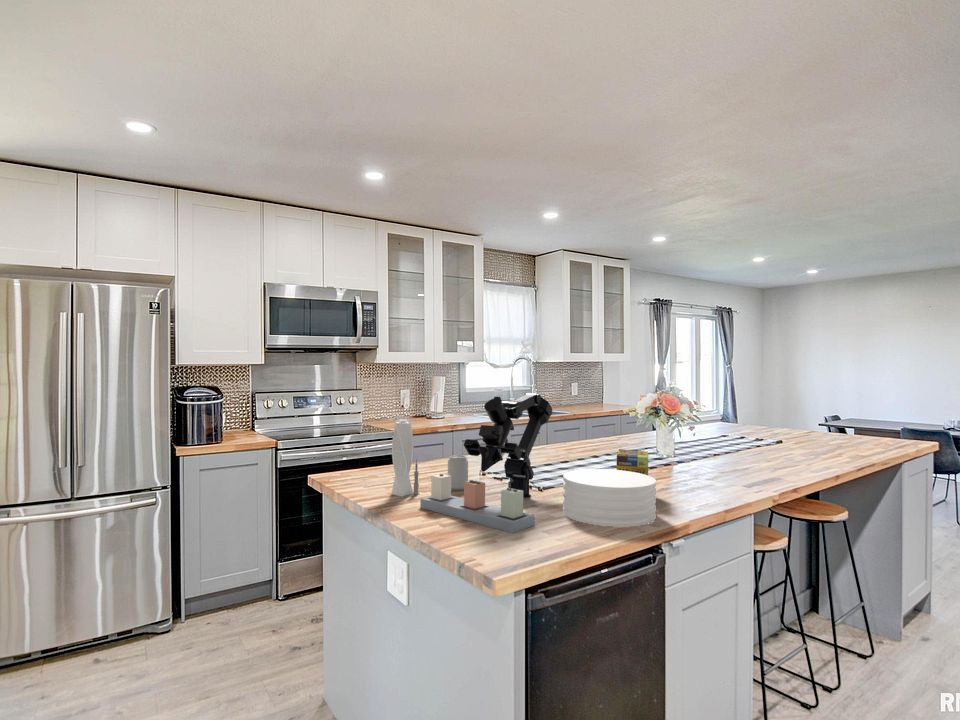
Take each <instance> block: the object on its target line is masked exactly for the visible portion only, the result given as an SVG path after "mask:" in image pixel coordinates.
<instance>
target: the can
mask: <svg viewBox="0 0 960 720" xmlns="http://www.w3.org/2000/svg"><path fill="white" fill-rule="evenodd" d="M447 475H449V476H451V491H464V483H466V482H469V460H468V459H467V455H463V454H462V455H461V454H456V455H450V456H449V458H448V459H447Z"/></svg>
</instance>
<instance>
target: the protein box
mask: <svg viewBox="0 0 960 720" xmlns="http://www.w3.org/2000/svg"><path fill="white" fill-rule="evenodd" d="M615 468H616V469H615V470H623V471H630V472H636V473H641V474H645V475H648V476H649V451H648V450H646V451H645V450H635V449H634V450H633V449H621V448H620V449H618V451H617V454H616V467H615Z"/></svg>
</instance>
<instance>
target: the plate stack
mask: <svg viewBox="0 0 960 720" xmlns="http://www.w3.org/2000/svg"><path fill="white" fill-rule="evenodd" d="M562 477H563V479H562V480H563V484H562V487H563V490H562V497H563V498H562V505H563V507H562V513H563V515H564V516H565V517H567V518H568V519H571V520H573V521H575V520H576V522H578V521H579V523H582V522H583V524H586V523H588V524H587V525H591V524H594V525H593V526H597V525H602V526H601V527H606V526H613V527H612V528H631V527H630V526H637V527H641V526H640V525H644V526H646V525H645V524H648V523H650V524H652V523H651V522H652V521H654V520H655V519H657V514H656V511H657V506H656V502H657V497H656V495H657V488H656V487H657V480H656V479H655V478H654V476H653V477H652V476H651V475H649V474H648V475H645V474H641V473H636V472H630V471H623V470H616V469H611V468H609V469H607V468H586V469H585V468H584V469H576V470H570V471H567V472H565V473H564V474H563V476H562ZM655 521H656V520H655ZM655 521H654V522H655ZM648 525H649V524H648Z"/></svg>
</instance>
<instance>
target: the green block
mask: <svg viewBox="0 0 960 720" xmlns="http://www.w3.org/2000/svg"><path fill="white" fill-rule="evenodd" d="M500 507H501V516H505V517H509V518H516V517H519V516H523V513H524V497H523V491H522V490H517V489H513V488H508V487H507V488H506V489H502V490H501V491H500Z"/></svg>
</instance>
